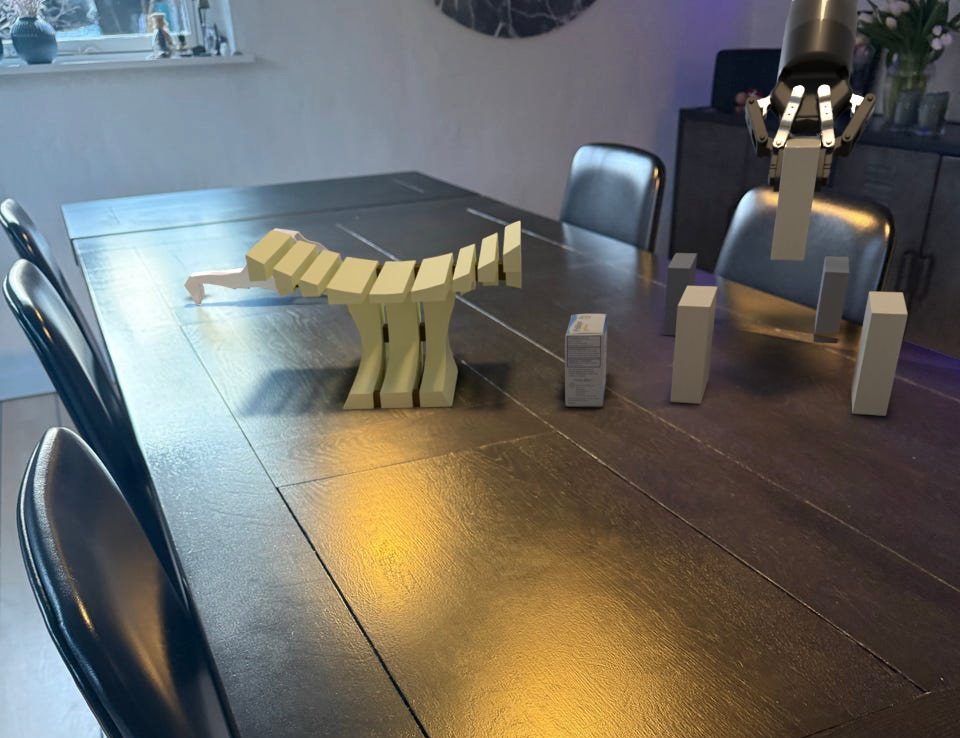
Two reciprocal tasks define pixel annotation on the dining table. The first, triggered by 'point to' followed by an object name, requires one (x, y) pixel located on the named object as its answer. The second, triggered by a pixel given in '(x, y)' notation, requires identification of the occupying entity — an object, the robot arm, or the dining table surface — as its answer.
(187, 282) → the horse figurine
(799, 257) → the beige rectangular block
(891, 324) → the cream blocks
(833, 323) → the grey blocks
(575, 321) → the medicine box
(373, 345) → the slatted curved stool
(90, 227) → the dining table surface
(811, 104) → the robot arm
